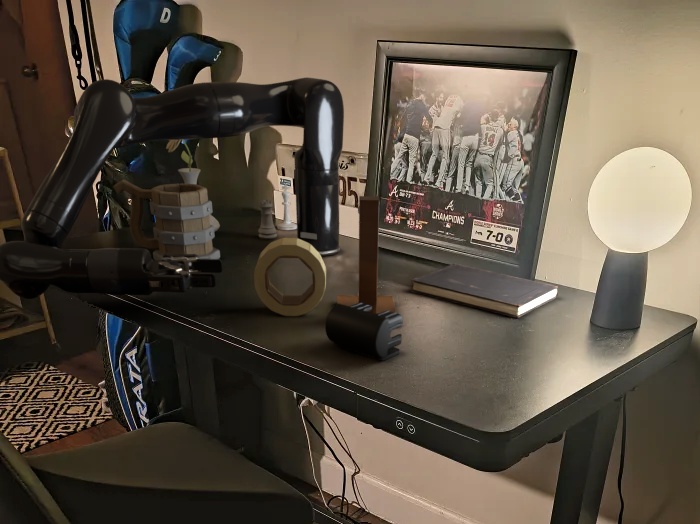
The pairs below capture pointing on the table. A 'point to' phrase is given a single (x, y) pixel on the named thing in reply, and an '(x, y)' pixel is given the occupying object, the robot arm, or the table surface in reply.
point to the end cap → (364, 330)
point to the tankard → (173, 219)
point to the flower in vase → (190, 173)
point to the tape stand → (368, 260)
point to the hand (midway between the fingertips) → (218, 272)
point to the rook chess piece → (266, 221)
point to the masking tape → (290, 303)
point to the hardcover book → (485, 290)
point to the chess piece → (286, 212)
